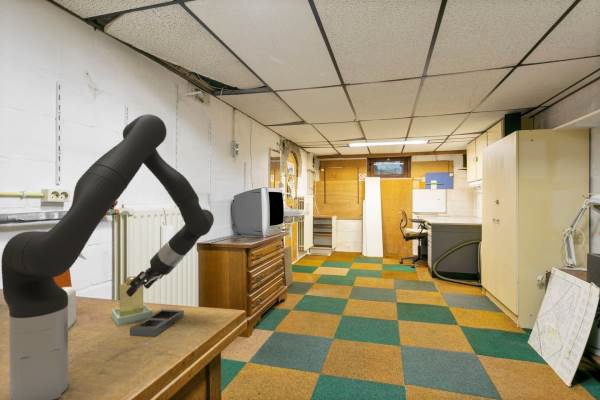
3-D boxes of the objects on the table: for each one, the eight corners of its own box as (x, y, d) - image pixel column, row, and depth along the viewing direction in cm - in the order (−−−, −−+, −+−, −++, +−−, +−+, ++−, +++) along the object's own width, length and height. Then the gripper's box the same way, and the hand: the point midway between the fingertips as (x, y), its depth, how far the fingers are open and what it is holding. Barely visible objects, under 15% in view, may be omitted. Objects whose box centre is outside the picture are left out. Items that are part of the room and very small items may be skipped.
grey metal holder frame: (183, 316, 105) (183, 310, 105) (154, 337, 89) (154, 330, 89) (162, 315, 106) (162, 309, 106) (129, 335, 91) (129, 328, 91)
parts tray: (151, 318, 103) (151, 310, 103) (117, 326, 97) (117, 318, 97) (143, 310, 111) (143, 303, 111) (111, 317, 104) (111, 309, 104)
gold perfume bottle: (143, 313, 106) (143, 275, 106) (133, 319, 101) (133, 279, 101) (130, 312, 107) (130, 275, 107) (119, 318, 102) (119, 279, 102)
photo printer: (64, 333, 92) (64, 292, 92) (47, 335, 90) (46, 293, 90) (78, 320, 102) (77, 283, 102) (62, 322, 100) (62, 284, 100)
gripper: (173, 245, 109) (143, 277, 111) (147, 252, 95) (114, 288, 97) (187, 261, 109) (157, 292, 110) (163, 270, 94) (129, 306, 96)
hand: (137, 290), depth 104 cm, fingers open, 8 cm apart
